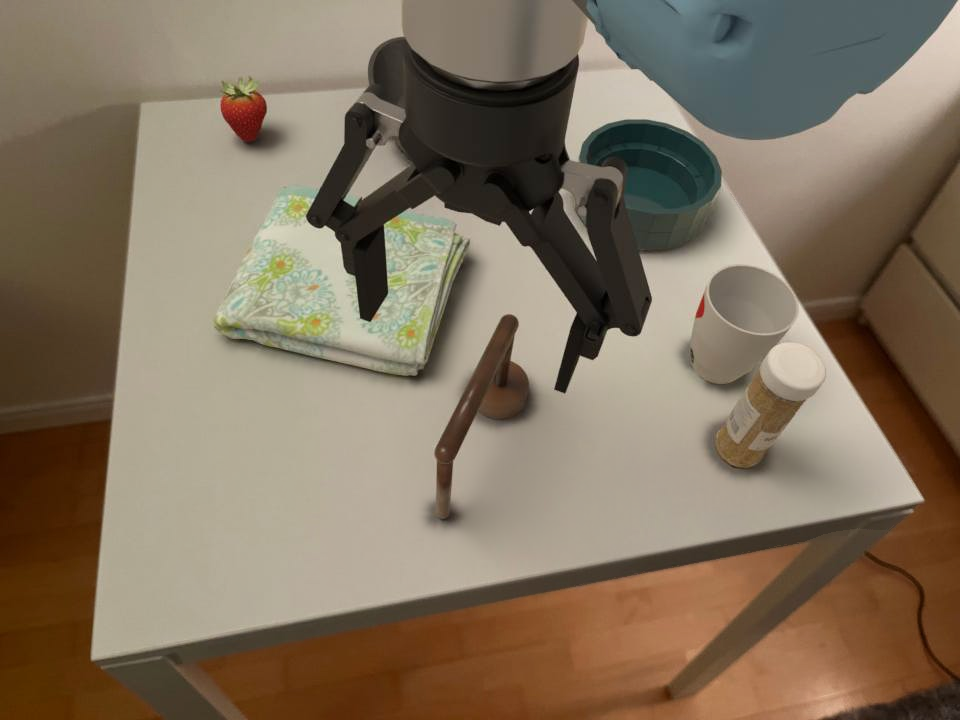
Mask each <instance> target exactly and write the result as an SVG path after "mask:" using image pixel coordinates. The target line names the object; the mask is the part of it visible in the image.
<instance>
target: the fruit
mask: <svg viewBox="0 0 960 720" xmlns="http://www.w3.org/2000/svg"><path fill="white" fill-rule="evenodd" d="M237 80H238V86H239V87H238V86H237V85H234V84H232V83H230V82H228V81H226V82H225V81H224V80H221V85H222V87H223V88H224V89H223V88H220V87H219V86H217V88H218V90H219V91H220V92H221V93H222V94H223V93H224V95H223V96H222V98H221V99H220V112H221V116H222V118H223V120H224V121H225V122H226V123H227V125H229V127H230V128H231V130H232V131H233V132H234V133H235V135H236V136H237V137H238V138H240V139H241V140H242V141H244V142H247V143H249V142H253V141H255V140H256V139H257V137H258V136H259V133H260V132H261V129H262V125H263V122H264V120H265V117H266V115H267V111H268V105H267V101H266V99H265V98H264V97H263V95H262V94H261V93H259V92H258V91H257V88H258V87H259V81H258V80H255V81H254V79H253V77H251V76H250V75H248V81H247V84H246V85H245V83H244V80H243V77H242V76H240V77H239V78H238V79H237Z"/></svg>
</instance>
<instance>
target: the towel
mask: <svg viewBox="0 0 960 720" xmlns="http://www.w3.org/2000/svg"><path fill="white" fill-rule="evenodd" d="M319 190H320V188H315V187H311V186H303V185H298V184H297V185H292V186H288V187H287V186H285V187H282V188H281V189H280V191H279V192H278V194H277V196H276V198H275V199H274V200H273V202H272V204H271V207H270V208H269V210H268V211H267V213H266V215H265V217H264V219H263V221H262V223H261V225H260V227H259V229H258V231H257V233H256V234H255V237H254V239H253V241H252V242H251V245H250V246H249V248H248V250H247V251H246V253H245V256H244V257H243V259H242V260H241V263H240V265H239V267H238V268H237V270H236V273H235V275H234V277H233V279H232V281H231V282H230V284H229V287H228V289H227V290H226V292H225V294H224V295H223V298H222V301H221V303H220V306H219V307H218V309H217V311H216V313H215V317H214V319H213V321H212V325H213V328H214V329H216V331H218V332H219V333H220V334H221V335H223V336H226V337H228V338H229V339H233V340H240V339H243V340H248V341H254V342H256V343H257V344H260V345H263V346H267V347H270V348H271V347H272V348H277V349H281V350H286V351H288V352H294V353H297V354H301V355H306V356H310V357H315V358H318V359H323V360H324V359H325V360H329V361H333V362H338V363H340V364H341V363H342V364H346V365H351V366H354V367H359V368H363V369H366V370H371V371H376V372H379V373H386V374H391V375H396V376H406V377H407V376H415V377H416V376H418V374H419V371H420V370H424V369H425V366H426V363H428V361H429V357H430V354H431V351H432V349H433V345H434V341H435V339H436V335H437V333H438V330H439V327H440V324H441V321H442V318H443V315H444V312H445V309H446V305H447V303H448V299H449V296H450V293H451V290H452V286H453V283H454V280H455V279H456V276H457V275H458V274H457V273H458V272H459V269H460V267H461V265H462V264H463V262H464V259H465V257H466V255H467V252H468V251H469V248H470V246H471V238H469V237H465V236H464V235H462V234H459V233H456V229H457V225H458V224H457V223H456V222H455V221H452V220H450V219H446V218H443V217H437V216H430V215H425V214H422V213H421V214H420V213H417V212H414V211H409V210H406V211H404V212H402V213H401V214H399V215H398V216H396V217H395V218H393V219H391V220H390V221H388V222H387V223H385V224H384V232H385V248H386V264H387V280H388V295H387V297H386V298H385V300H384V301H383V303H382V305H381V306H380V308H379V309H378V311H377V313H376V314H375V316H374V317H373V319H372V320H371V322H368V321H365V320H363V319H360V313H359V305H358V296H357V287H356V279H355V276H353V275H350V274H347V272H346V270H345V269H344V266H343V258H342V251H341V243H340V242H339V241H338V240H337V239H336V237H335V232H334V231H333V230H331V229H330V228H328V227H326V226H324V227H323V228H320V229H319V228H315V227H313V226H312V225H311V224H310V223H309V222H308V221H307V219H306V214H307V212H308V210H309V208H310V207H311V205H312V203H313V201H314V199H315V197H316V195H317V194H318V192H319ZM360 198H361V197H360ZM360 198H359V197H356V196H351V195H348V194H347V196H346V197H345V199H344V201H345V202H347V203H349V204H350V205H352V206H353V207H354V206H355V205H356V203H357V202H358V200H359V199H360ZM363 199H364V198H362V200H363Z"/></svg>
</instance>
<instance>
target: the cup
mask: <svg viewBox="0 0 960 720" xmlns="http://www.w3.org/2000/svg"><path fill="white" fill-rule="evenodd" d="M799 311H800V307H799V302H798V299H797V296H796V294H795V293H794V291H793V289H792V288H791V287H790V285H789V284H788V283H787V282H786V281H785V280H783V279H782V278H781V276H778V275H777V274H775V273H773V272H772V271H770V270H768V269H765V268H763V267H760V266H756V265H752V264H745V263H739V264H738V263H737V264H730V265H726V266H722V267H721V268H719V269H717V270H716V271H715V272H713V274H712V275H711V276H710V277H709V279H708V281H707V284H706V285H705V289H704V291H703V294H702V296H701V300H700V302H699V305H698V307H697V310H696V313H695V316H694V321H693V325H692V326H693V327H692V331H691V335H690V341H689V342H690V344H689V345H690V347H689V348H690V349H689V351H690V352H689V353H690V357H689V358H690V364H691V367H692V369H693V371H694V372H695V373H696V374H697V375H698V376H699V377H700V378H702V380H705V381H707V382H709V383H711V384H716V385H726V384H731V383H732V382H734V381H736V380H738V379H739V378H741V377H743V376H744V375H746V374H748V373H749V372H751V371H753V369H754V368H756V366H758V365H759V364H760V363H762V361H763V360H764V358H765V357H766V355H767V354H768V353H769V351H770V350H771V349H772V348H773V347H774V346H776V345H778V344H780V342H781V341H782V339H783V338H784V337H785V335H786V334H787V333H788V331H789V330H790V329H791V328H792V326H793V325H794V324H795V323H796V322H797V319H798V316H799V313H800V312H799Z"/></svg>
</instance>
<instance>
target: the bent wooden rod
mask: <svg viewBox="0 0 960 720" xmlns="http://www.w3.org/2000/svg"><path fill="white" fill-rule="evenodd" d="M519 326H520V323H519V319H518V318H517V317H516V315H515V314H511V313H508V314H504V315H503V316H501V318H500V319H499V321H498V323H497V326H496V327H495V329H494V331H493V333H492V335H491V337H490V339H489V341H488V343H487V345H486V347H485V349H484V351H483V354H482V355H481V357H480V359H479V360H478V362H477V365H476V367H475V369H474V370H473V373H472V375H471V377H470V379H469V380H468V383H467V385H466V386H465V388H464V391H463V392H462V394H461V396H460V398H459V400H458V402H457V404H456V407H455V408H454V411H453V412H452V414H451V416H450V418H449V420H448V422H447V424H446V426H445V428H444V431H443V432H442V434H441V436H440V438H439V440H438V442H437V444H436V446H435V448H434V451H433V452H434V453H433V454H434V458H435V460H436V478H435V479H436V482H435V515H436V516H437V518H439V519H441V520H445V519H447V518H449V516H450V513H451V502H452V486H453V472H454V461H455V459H456V457H457V455H458V454H459V451H460V449H461V448H462V445H463V443H464V441H465V438H466V437H467V434H468V433H469V430H470V428H471V426H472V424H473V422H474V420H475V418H476V416H477V414H478V413H480V414H482V415H483V416H485V417H487V418H489V419H494V420H506V419H510V418H512V417H515V416H517V414H519V413H520V412H521V411H522V409H524V406H525V405H526V401H527V397H528V396H527V395H528V391H529V386H530V381H529V378H528V375H527V373H526V371H525V370H524V369H523V368H522V366H521V365H519V364H518V363H516V362H514V361H512V354H513V348H514V342H515V336H516V333H517V331H518V329H519Z"/></svg>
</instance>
